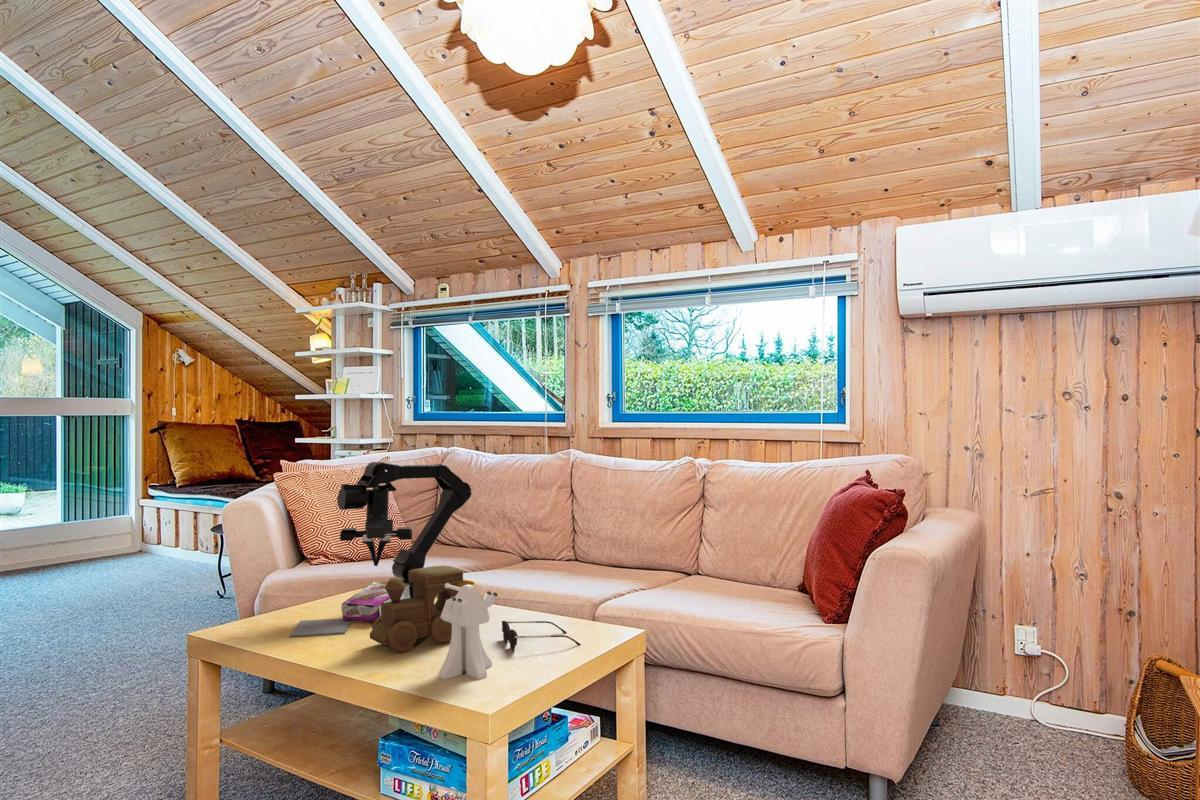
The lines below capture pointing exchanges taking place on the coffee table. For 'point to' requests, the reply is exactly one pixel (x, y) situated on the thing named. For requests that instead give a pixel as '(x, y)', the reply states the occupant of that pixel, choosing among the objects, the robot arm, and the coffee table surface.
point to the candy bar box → (368, 603)
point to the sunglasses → (513, 636)
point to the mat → (320, 627)
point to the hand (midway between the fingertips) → (376, 565)
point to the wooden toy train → (416, 608)
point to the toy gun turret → (466, 632)
